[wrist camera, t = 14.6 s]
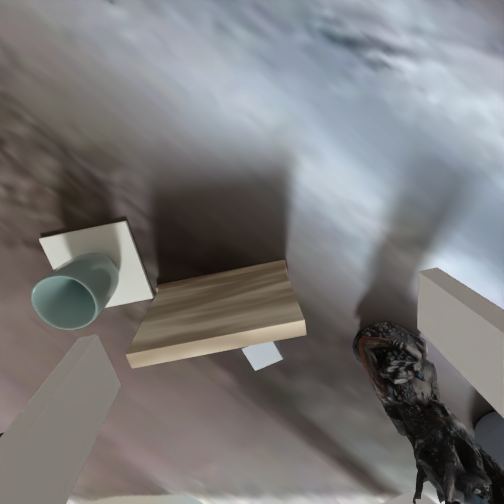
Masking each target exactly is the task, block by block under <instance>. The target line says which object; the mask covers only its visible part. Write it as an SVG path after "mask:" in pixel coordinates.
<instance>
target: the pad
mask: <svg viewBox="0 0 504 504" xmlns="http://www.w3.org/2000/svg"><path fill="white" fill-rule="evenodd" d="M39 241H40V243H41V245H42V247H43V249H44V251H45V253H46V255H47V257H48V259H49V261H50V263H51V265H52V267H53V269H56V268H57V267H58V266H60V265H61V264H63V263H65V262H66V261H68V260H70V259H72V258H74V257H76V256H78V255H82V254H86V253H100V254H103V255H105V256H107V257H108V258H110V259H111V260H112V261H113V262H114V264H115V265H116V267H117V269H118V272H119V284H118V287H117V289H116V291H115V293H114V295H113V297H112V298H111V300H110V301H109V302H108V304H107V305H106V306H105V308H106V307H111V306H116V305H121V304H126V303H131V302H136V301H141V300H146V299H151V298H154V294H153V291H152V289H151V286H150V283H149V280H148V278H147V275H146V272H145V269H144V267H143V264H142V261H141V258H140V256H139V253H138V250H137V247H136V244H135V242H134V239H133V236H132V233H131V231H130V228H129V225H128V222H127V220H126V221H121V222H116V223H111V224H106V225H102V226H97V227H92V228H87V229H82V230H77V231H72V232H67V233H62V234H57V235H52V236H47V237H42V238H40V239H39Z"/></svg>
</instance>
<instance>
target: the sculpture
mask: <svg viewBox="0 0 504 504" xmlns="http://www.w3.org/2000/svg"><path fill="white" fill-rule="evenodd" d="M353 351H354V354H355V356H356V358H357V360H359V361H360V362H362V364H363V366H364V369H365V371H366V372H367V374H368V376H369V379H370V381H371V383H372V386H373V388H374V390H375V392H376V394H377V396H378V398H379V399H380V400H381V402H382V404H383V407H384V409H385V411H386V413H387V415H388V416H389V417H390V419H391V420H392V422H393V424H394V425H395V427H396V429H397V431H398V433H399V434H401V435H402V436H407V437H408V439H409V441H410V442H411V444H412V446H413V449H414V456H415V459H416V467H417V469H418V473H417V479H416V492H415V495H414V498H413V503H414V504H416V502H415V499H421V493H422V489H423V483H424V482H426V481H430V482H431V484H432V485H433V486H434V487H435V488H436V490H437V495H438V499H439V501H440V503H441V502H442V501H444V500H445V504H504V468H503V467H502V466H501V465H500V463H499V462H498V461H497V460H495V459H494V458H493V457H491V456H490V455H489V454H487V453H486V452H485V451H484V450H483V449H482V447H481V445H479V444H478V443H477V442H476V441H475V440H474V439H473V437H472V436H471V434H470V433H469V431H468V429H467V428H466V427H465V425H464V424H463V422H461V421H460V420H459V419H457V417H456V416H455V415H454V413H453V412H452V411H451V410H450V409H449V408H448V407H447V406H446V405H445V404H443V403H440V395H439V388H438V383H437V375H436V369H435V366H434V364H433V363H431V362H429V361H428V360H427V357H428V346H427V342H426V341H425V340H424V339H423V338H421V337H419V336H417V335H415V334H413V333H411V332H408V331H407V330H406V329H404V328H402V327H400V326H398V325H396V324H394V323H392V322H381V323H377V324H375V325H372V326H369V327H367V328H364V329H363V330H362V331H361V332H360V333H359V334H358V335H357V337H356V339H355V341H354V345H353Z"/></svg>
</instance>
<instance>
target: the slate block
mask: <svg viewBox="0 0 504 504" xmlns="http://www.w3.org/2000/svg"><path fill="white" fill-rule="evenodd" d="M242 350H243V352H244V354H245V355H246V357H247V358H248V360H249V362H250V363H251V365H252V366H253V368H254V370H255V371H256V370H258V369H261V368H263V367H265V366H268V365H270V364H273V363H275V362H277V361H280V360H282V359H283V357H282V353H281V348H280V344H279V340H277V341H272V342H267V343H261V344H256V345H251V346H246V347H242Z"/></svg>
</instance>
